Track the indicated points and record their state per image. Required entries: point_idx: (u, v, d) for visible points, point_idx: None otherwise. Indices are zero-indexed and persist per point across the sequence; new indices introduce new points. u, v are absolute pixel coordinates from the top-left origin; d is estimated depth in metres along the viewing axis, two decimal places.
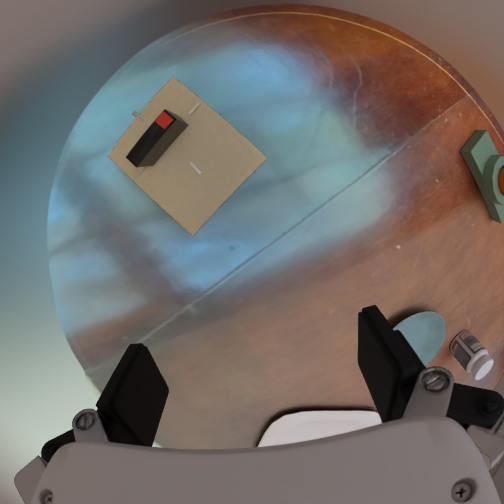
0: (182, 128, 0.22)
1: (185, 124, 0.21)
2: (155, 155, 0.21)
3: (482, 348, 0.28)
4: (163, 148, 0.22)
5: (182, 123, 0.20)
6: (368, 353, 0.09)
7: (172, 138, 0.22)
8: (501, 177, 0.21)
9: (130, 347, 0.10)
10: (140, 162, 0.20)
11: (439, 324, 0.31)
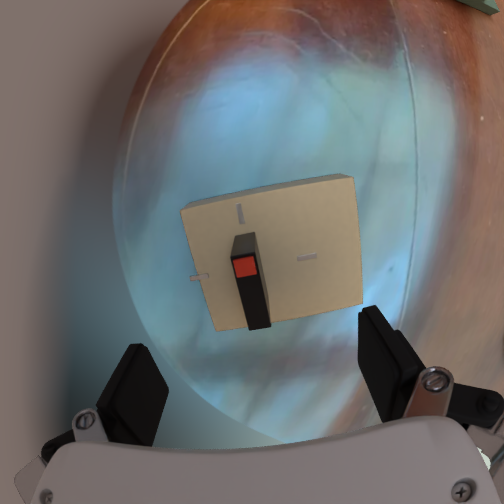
0: (256, 242, 0.18)
1: (255, 237, 0.18)
2: (266, 292, 0.18)
3: None
4: (263, 278, 0.18)
5: (255, 242, 0.17)
6: (368, 353, 0.09)
7: (260, 261, 0.18)
8: None
9: (130, 347, 0.10)
10: (269, 319, 0.16)
11: None
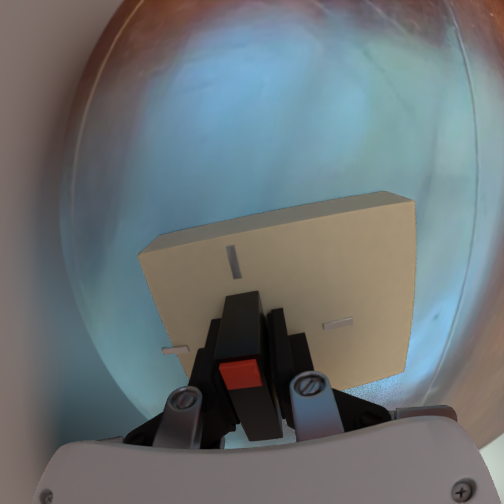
0: (261, 311, 0.11)
1: (259, 303, 0.10)
2: None
3: None
4: None
5: (259, 317, 0.10)
6: None
7: (267, 339, 0.11)
8: None
9: (213, 322, 0.11)
10: (280, 430, 0.09)
11: None
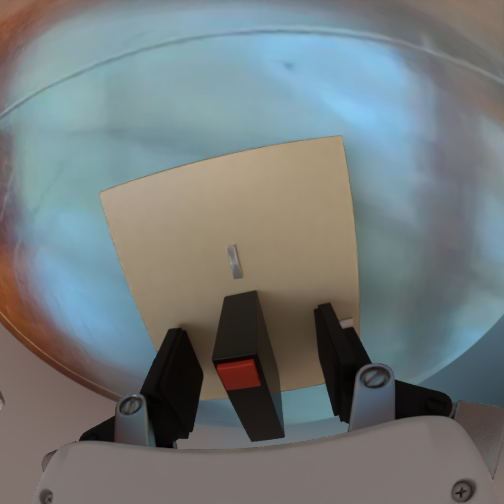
0: (259, 311, 0.11)
1: (257, 303, 0.10)
2: (276, 382, 0.11)
3: None
4: (272, 361, 0.11)
5: (257, 317, 0.10)
6: (321, 348, 0.10)
7: (266, 339, 0.11)
8: None
9: (170, 331, 0.11)
10: (281, 430, 0.09)
11: None
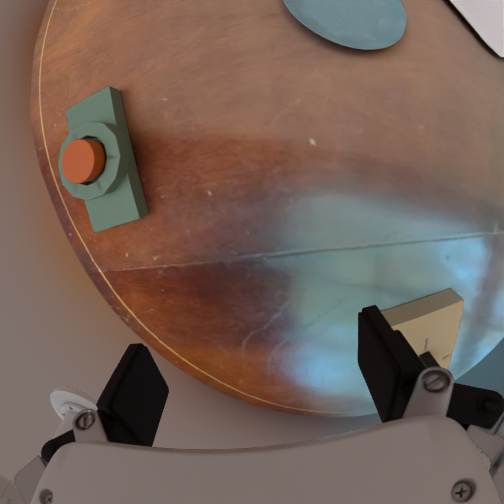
0: None
1: (432, 356, 0.24)
2: None
3: None
4: None
5: (436, 361, 0.23)
6: (368, 353, 0.09)
7: None
8: (97, 172, 0.18)
9: (130, 347, 0.10)
10: None
11: None
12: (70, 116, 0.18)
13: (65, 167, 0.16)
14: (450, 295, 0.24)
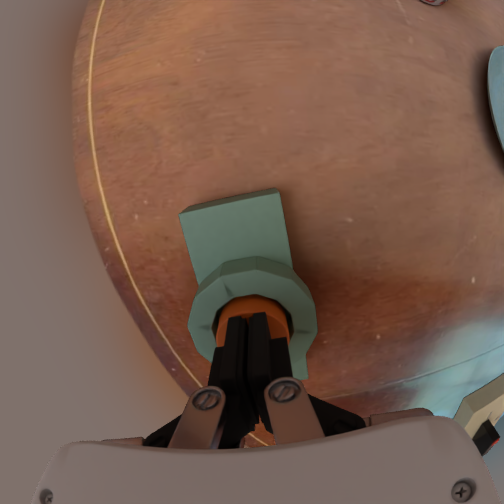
0: (489, 424, 0.20)
1: (491, 423, 0.19)
2: None
3: None
4: None
5: (493, 427, 0.19)
6: None
7: None
8: None
9: (231, 320, 0.11)
10: None
11: (489, 97, 0.11)
12: (192, 229, 0.13)
13: None
14: None
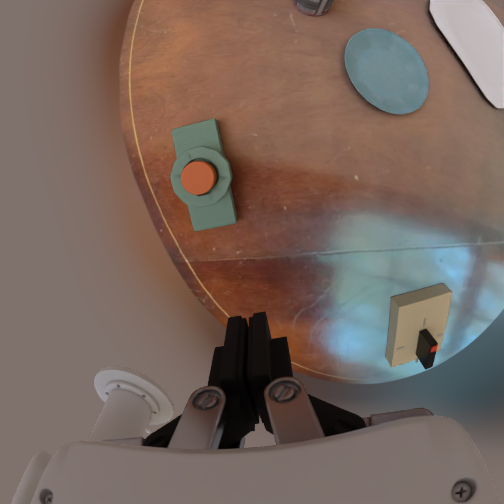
0: None
1: (428, 332, 0.34)
2: None
3: None
4: None
5: (431, 335, 0.33)
6: None
7: None
8: (211, 187, 0.27)
9: (231, 320, 0.11)
10: (432, 364, 0.33)
11: (348, 62, 0.24)
12: (176, 136, 0.27)
13: (185, 181, 0.26)
14: (442, 288, 0.34)
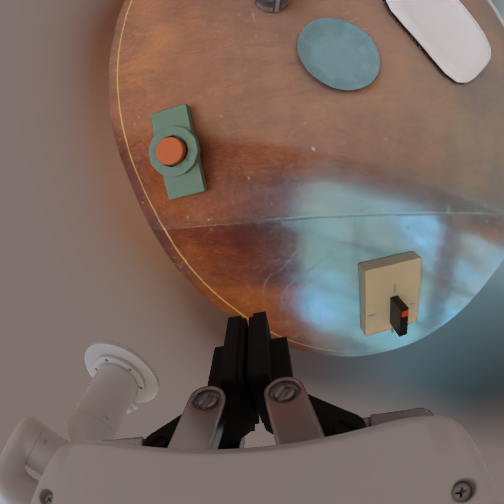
0: None
1: None
2: None
3: None
4: None
5: (402, 301, 0.36)
6: None
7: None
8: (181, 159, 0.31)
9: (231, 320, 0.11)
10: (406, 331, 0.36)
11: (301, 49, 0.28)
12: (154, 119, 0.31)
13: (159, 154, 0.30)
14: (411, 255, 0.38)
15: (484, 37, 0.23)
